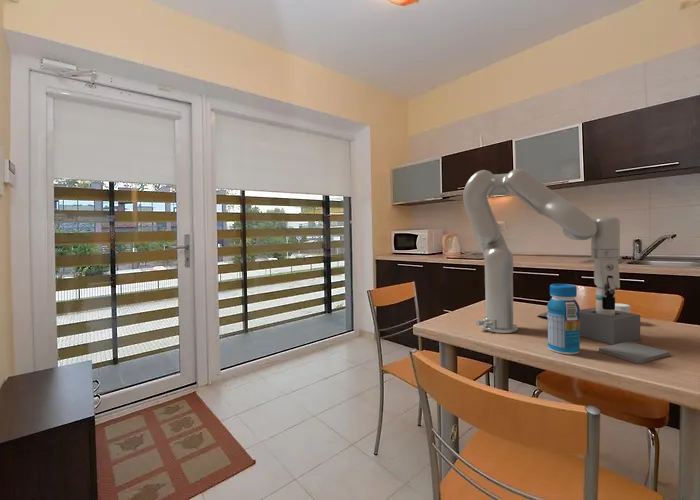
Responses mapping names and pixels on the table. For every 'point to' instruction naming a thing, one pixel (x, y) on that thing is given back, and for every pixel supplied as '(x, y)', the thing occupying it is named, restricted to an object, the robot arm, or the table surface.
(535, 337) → the table surface
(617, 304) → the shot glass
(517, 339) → the table surface
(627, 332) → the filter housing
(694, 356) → the table surface
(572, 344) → the beverage bottle
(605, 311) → the cylinder
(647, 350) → the rubber mat
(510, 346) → the table surface
